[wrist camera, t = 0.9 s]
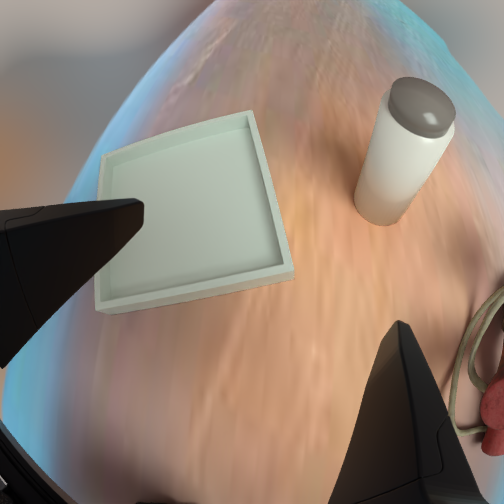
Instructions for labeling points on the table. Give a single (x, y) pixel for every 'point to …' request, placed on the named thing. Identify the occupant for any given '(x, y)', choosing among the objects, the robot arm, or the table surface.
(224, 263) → the bin
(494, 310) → the slingshot
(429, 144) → the jar with lid
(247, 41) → the table surface
